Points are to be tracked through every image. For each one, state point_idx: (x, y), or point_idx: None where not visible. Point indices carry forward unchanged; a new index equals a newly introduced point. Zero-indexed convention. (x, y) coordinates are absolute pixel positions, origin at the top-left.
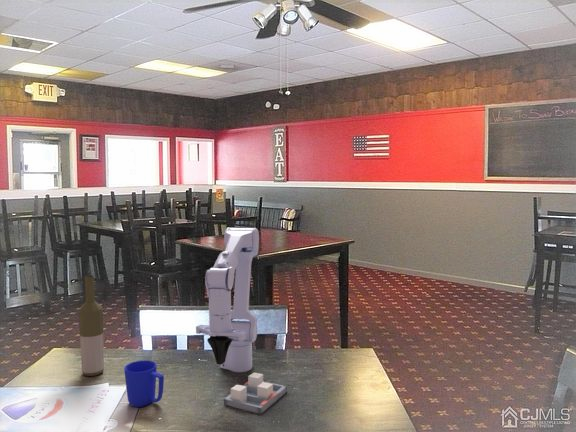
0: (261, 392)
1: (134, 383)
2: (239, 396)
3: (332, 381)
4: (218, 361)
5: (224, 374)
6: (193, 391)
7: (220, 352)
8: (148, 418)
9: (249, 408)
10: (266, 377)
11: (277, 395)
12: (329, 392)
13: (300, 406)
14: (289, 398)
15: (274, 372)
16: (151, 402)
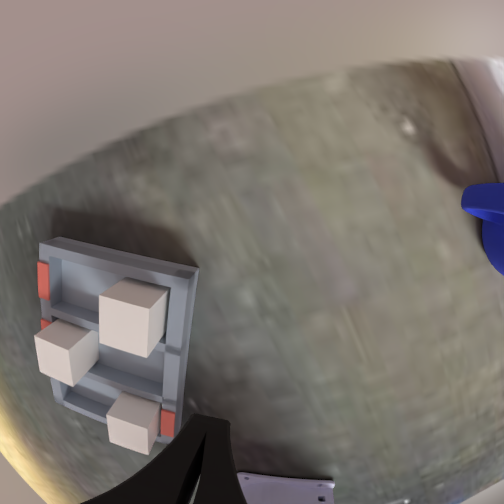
0: (64, 334)
1: None
2: (116, 288)
3: (37, 444)
4: (204, 428)
5: (310, 473)
6: (377, 359)
7: (149, 472)
8: (442, 119)
9: (82, 249)
10: None
11: None
12: (13, 399)
13: (16, 328)
14: None
15: None
16: (483, 221)
